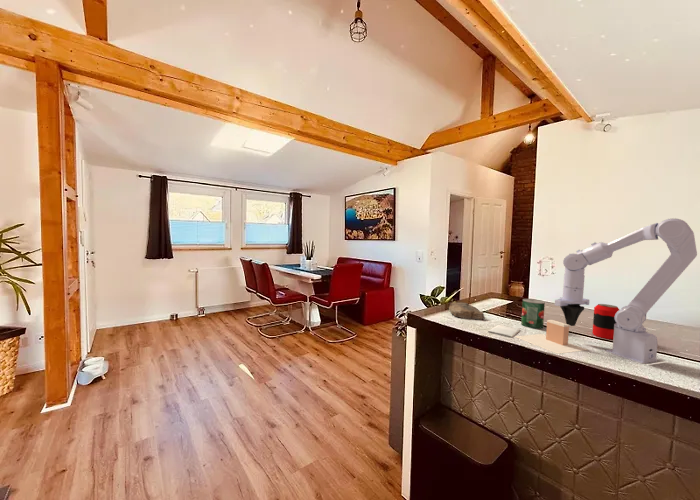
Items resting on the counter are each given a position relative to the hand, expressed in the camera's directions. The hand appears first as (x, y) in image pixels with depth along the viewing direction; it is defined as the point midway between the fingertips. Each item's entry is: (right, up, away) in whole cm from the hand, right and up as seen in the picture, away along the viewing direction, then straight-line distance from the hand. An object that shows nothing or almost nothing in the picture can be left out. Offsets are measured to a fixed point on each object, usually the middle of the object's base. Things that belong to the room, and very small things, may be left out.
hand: (570, 325), depth 103 cm
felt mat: (-10, -6, -3) cm, 12 cm away
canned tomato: (-3, -5, +17) cm, 18 cm away
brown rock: (-24, -4, +36) cm, 43 cm away
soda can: (+19, -7, +7) cm, 21 cm away
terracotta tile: (-6, -6, -2) cm, 9 cm away
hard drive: (-19, -6, +8) cm, 22 cm away
